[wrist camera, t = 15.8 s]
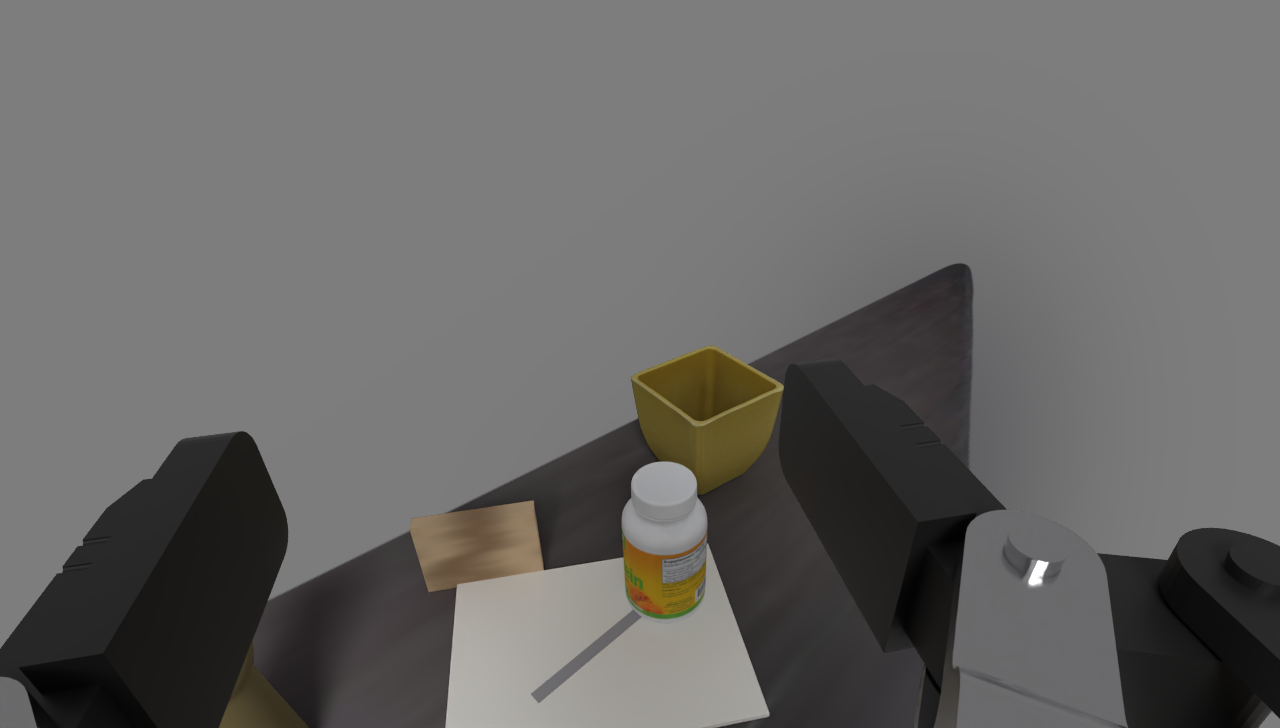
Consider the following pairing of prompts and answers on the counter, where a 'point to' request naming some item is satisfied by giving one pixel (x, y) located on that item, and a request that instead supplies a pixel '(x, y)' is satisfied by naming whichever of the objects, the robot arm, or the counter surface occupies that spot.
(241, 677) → the olive chess pawn
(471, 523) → the wooden block
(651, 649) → the paper
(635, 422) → the counter surface
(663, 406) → the flower pot
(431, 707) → the counter surface
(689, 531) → the supplement bottle
